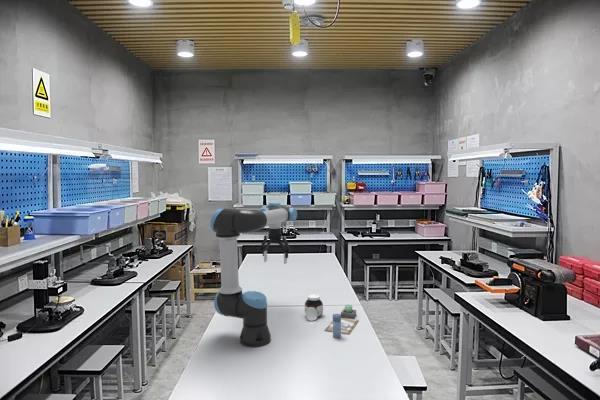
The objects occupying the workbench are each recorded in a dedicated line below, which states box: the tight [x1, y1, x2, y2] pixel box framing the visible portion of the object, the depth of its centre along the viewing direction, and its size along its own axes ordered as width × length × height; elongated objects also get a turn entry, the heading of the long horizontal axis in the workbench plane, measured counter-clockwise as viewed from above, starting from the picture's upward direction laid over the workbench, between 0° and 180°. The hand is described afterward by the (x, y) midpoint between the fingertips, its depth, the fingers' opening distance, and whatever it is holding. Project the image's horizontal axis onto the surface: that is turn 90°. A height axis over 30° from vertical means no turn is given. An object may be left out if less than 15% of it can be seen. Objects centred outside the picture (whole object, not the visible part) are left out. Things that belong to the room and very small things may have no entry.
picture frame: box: [324, 318, 360, 336], centre depth 217 cm, size 20×13×1 cm, turn 158°
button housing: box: [340, 308, 357, 319], centre depth 230 cm, size 7×7×3 cm
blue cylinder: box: [332, 313, 342, 339], centre depth 202 cm, size 4×4×11 cm
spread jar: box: [304, 293, 324, 322], centre depth 229 cm, size 12×11×12 cm
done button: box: [344, 304, 353, 313], centre depth 230 cm, size 4×4×4 cm
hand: (275, 262), depth 246 cm, fingers open, 13 cm apart
